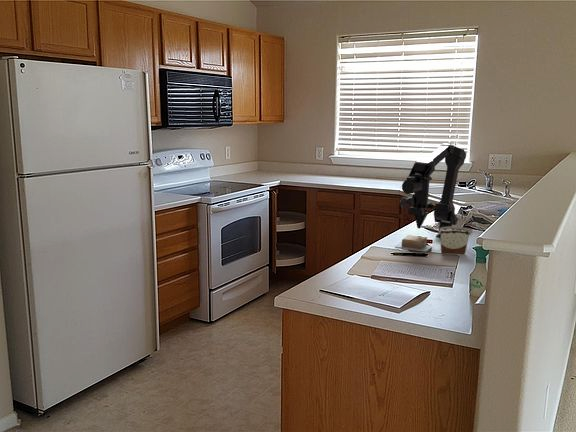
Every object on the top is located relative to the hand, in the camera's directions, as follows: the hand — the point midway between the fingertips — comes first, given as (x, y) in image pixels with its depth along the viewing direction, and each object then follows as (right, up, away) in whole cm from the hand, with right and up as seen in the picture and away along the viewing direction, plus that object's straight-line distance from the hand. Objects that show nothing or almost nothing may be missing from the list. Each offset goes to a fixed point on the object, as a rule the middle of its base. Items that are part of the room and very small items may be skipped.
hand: (418, 228), depth 225 cm
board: (-3, -8, -4) cm, 9 cm away
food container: (+10, -10, -10) cm, 18 cm away
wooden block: (-1, -5, 0) cm, 5 cm away
